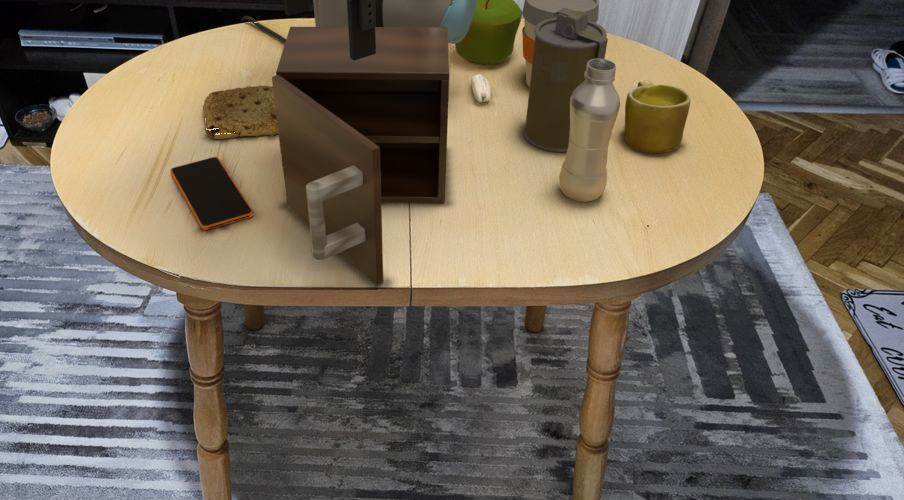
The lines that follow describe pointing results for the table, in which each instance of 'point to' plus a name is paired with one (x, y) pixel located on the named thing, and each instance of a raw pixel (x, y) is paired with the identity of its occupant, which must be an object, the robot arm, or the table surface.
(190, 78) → the table surface
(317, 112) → the cupboard door
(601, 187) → the plastic bottle
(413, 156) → the cupboard
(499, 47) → the apple
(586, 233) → the table surface
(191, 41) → the table surface
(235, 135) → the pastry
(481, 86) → the white ridged oblong
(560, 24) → the canister
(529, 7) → the reusable coffee cup
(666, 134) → the mug
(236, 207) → the smartphone
